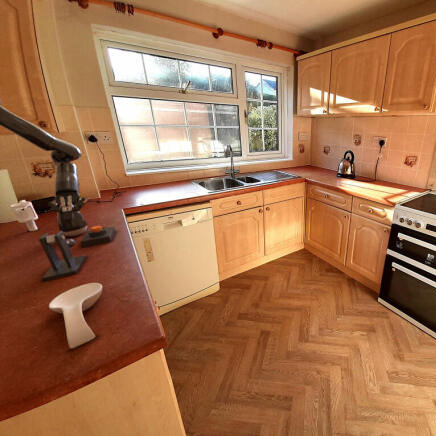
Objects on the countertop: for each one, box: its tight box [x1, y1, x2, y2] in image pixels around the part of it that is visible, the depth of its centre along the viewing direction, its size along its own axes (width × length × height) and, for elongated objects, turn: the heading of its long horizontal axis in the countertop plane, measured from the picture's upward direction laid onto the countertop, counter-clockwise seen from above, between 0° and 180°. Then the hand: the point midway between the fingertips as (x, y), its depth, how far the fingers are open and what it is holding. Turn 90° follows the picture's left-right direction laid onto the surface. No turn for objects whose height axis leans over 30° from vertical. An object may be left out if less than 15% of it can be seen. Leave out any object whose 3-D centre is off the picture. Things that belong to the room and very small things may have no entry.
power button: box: [90, 225, 102, 232], centre depth 109 cm, size 4×4×2 cm
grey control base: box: [80, 226, 116, 248], centre depth 110 cm, size 12×10×4 cm
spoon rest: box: [48, 282, 103, 349], centre depth 65 cm, size 24×12×7 cm, turn 41°
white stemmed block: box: [10, 199, 39, 232], centre depth 121 cm, size 7×7×15 cm
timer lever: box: [46, 234, 76, 249], centre depth 90 cm, size 15×3×3 cm
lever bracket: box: [38, 230, 87, 282], centre depth 86 cm, size 12×9×14 cm
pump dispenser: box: [49, 205, 88, 237], centre depth 114 cm, size 10×10×15 cm
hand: (68, 220), depth 98 cm, fingers closed
